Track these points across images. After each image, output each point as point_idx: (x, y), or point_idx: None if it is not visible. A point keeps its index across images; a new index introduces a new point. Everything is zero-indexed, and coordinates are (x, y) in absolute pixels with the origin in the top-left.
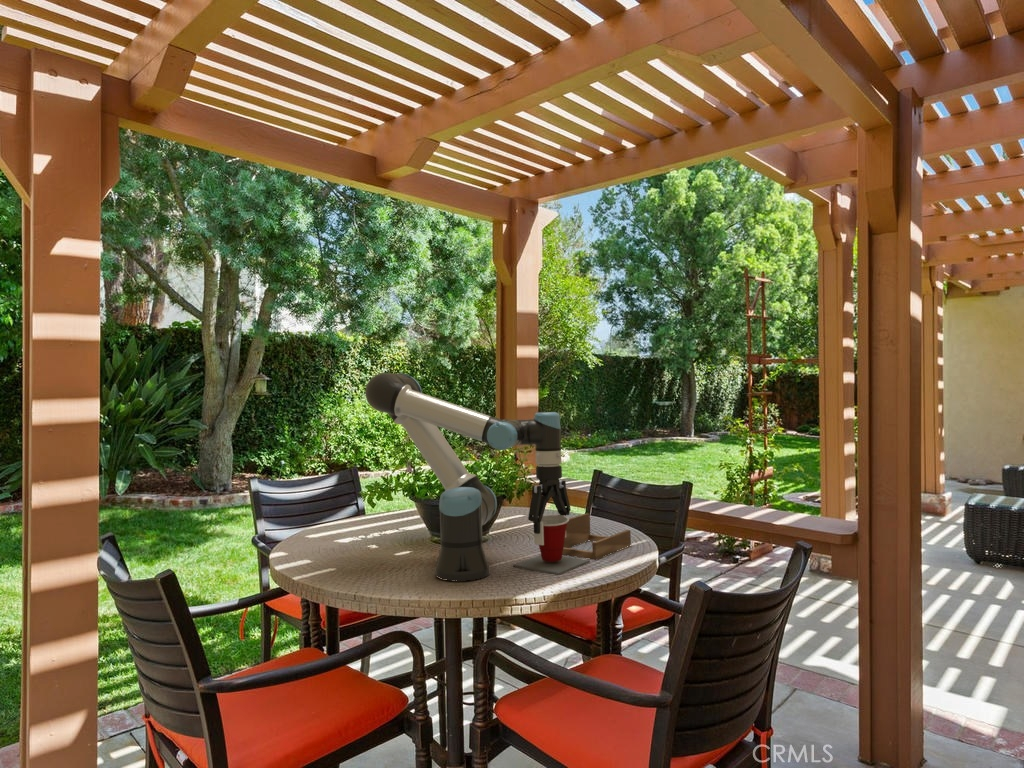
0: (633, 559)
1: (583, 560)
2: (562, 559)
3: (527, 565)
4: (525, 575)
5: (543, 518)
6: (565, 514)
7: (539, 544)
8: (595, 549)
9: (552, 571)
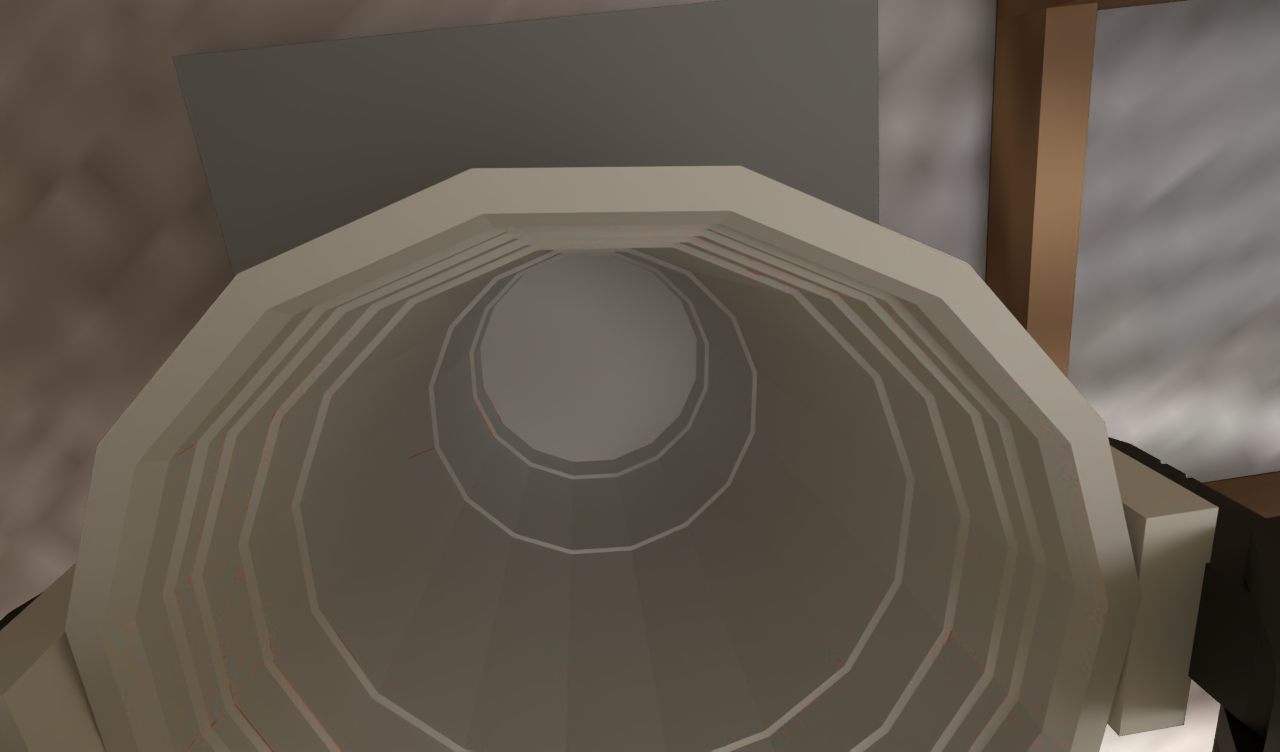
0: (1140, 738)
1: None
2: None
3: (291, 231)
4: (78, 429)
5: (805, 265)
6: (1220, 721)
7: None
8: None
9: None
